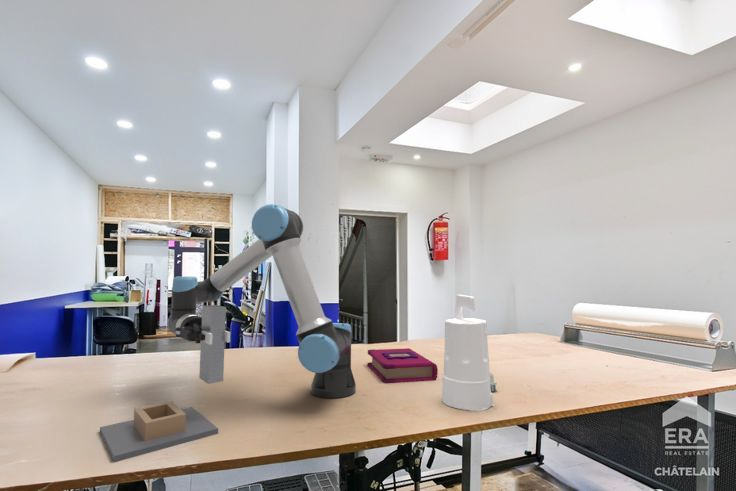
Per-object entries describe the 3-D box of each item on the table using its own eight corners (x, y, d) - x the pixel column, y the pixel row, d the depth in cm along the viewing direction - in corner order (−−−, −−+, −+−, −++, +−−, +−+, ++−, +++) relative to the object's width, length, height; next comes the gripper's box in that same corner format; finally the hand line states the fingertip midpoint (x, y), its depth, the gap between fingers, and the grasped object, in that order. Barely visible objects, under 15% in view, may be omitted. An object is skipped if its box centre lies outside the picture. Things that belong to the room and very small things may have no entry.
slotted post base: (191, 411, 111) (192, 392, 111) (218, 433, 96) (218, 412, 97) (99, 432, 96) (100, 410, 97) (114, 462, 82) (115, 436, 82)
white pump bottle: (503, 406, 117) (501, 296, 119) (463, 413, 111) (461, 297, 113) (469, 391, 131) (468, 293, 133) (432, 397, 125) (432, 294, 127)
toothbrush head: (467, 363, 156) (498, 370, 132) (468, 380, 155) (500, 390, 131) (455, 363, 155) (484, 371, 131) (456, 381, 154) (486, 391, 130)
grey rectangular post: (213, 375, 110) (216, 305, 111) (223, 381, 104) (226, 307, 106) (199, 378, 107) (202, 305, 108) (208, 383, 102) (211, 307, 103)
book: (412, 363, 172) (412, 346, 173) (437, 381, 145) (437, 361, 145) (366, 366, 167) (366, 348, 168) (384, 384, 140) (384, 363, 141)
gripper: (219, 336, 125) (250, 348, 108) (161, 342, 114) (185, 356, 97) (220, 313, 126) (251, 321, 108) (162, 317, 115) (186, 326, 97)
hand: (220, 338), depth 103 cm, fingers closed on grey rectangular post, 4 cm apart
